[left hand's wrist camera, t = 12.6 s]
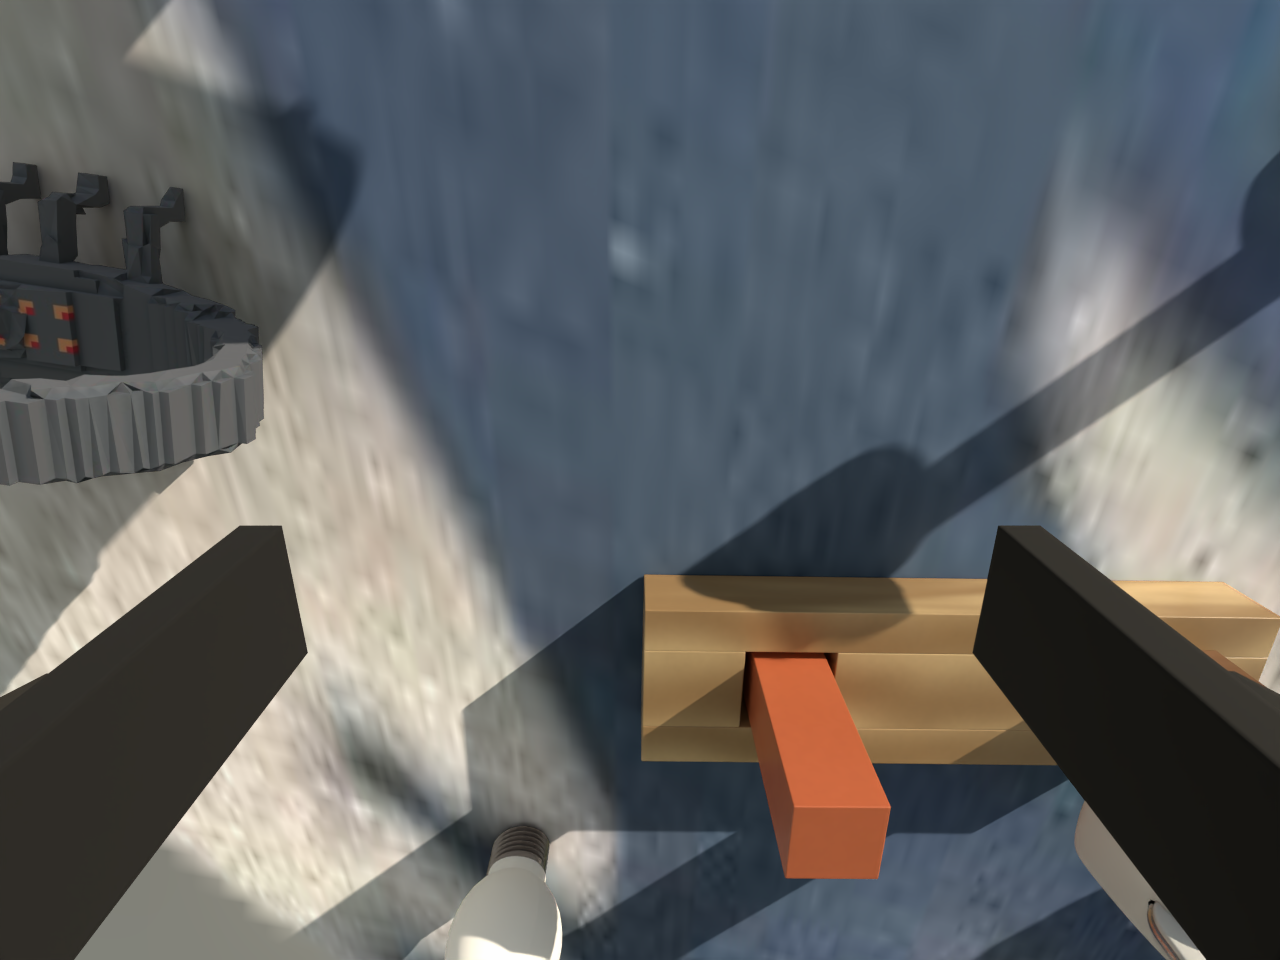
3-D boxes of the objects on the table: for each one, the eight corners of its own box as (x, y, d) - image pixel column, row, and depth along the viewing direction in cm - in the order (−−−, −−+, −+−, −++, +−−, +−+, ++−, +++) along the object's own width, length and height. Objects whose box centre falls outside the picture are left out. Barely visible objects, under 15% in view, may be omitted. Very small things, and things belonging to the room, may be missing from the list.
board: (643, 574, 40) (647, 710, 29) (1223, 581, 40) (1450, 719, 29) (640, 715, 43) (642, 886, 32) (1174, 721, 44) (1360, 892, 33)
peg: (743, 620, 41) (793, 806, 28) (810, 621, 41) (891, 807, 28) (739, 676, 42) (784, 879, 29) (803, 677, 43) (878, 879, 29)
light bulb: (509, 794, 45) (471, 961, 35) (591, 841, 47) (578, 1015, 37) (453, 854, 47) (402, 1030, 37) (534, 898, 49) (506, 1079, 38)
